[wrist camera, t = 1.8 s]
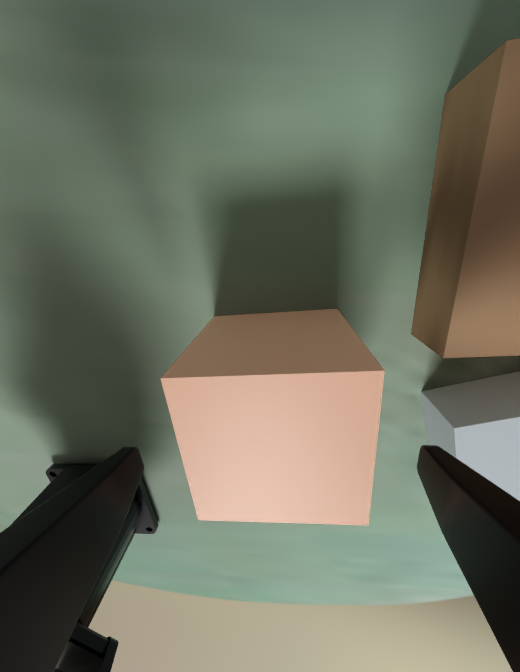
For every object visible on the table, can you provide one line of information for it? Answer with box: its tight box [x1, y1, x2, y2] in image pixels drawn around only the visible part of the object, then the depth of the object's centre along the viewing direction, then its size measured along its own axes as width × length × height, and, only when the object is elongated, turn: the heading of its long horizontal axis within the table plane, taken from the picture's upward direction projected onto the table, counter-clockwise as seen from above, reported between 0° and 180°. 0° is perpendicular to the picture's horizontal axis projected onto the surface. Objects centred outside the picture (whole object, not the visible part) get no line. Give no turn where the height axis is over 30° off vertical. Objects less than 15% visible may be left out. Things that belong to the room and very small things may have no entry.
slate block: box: [421, 371, 520, 501], centre depth 12 cm, size 6×6×3 cm
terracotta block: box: [160, 309, 385, 525], centre depth 11 cm, size 6×6×6 cm
